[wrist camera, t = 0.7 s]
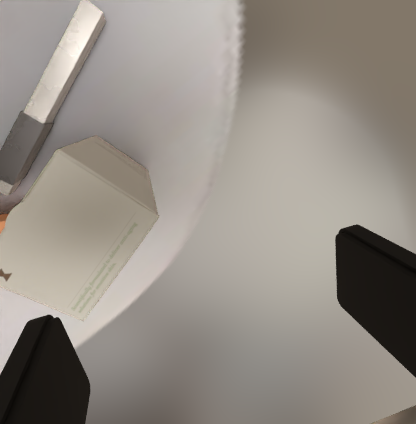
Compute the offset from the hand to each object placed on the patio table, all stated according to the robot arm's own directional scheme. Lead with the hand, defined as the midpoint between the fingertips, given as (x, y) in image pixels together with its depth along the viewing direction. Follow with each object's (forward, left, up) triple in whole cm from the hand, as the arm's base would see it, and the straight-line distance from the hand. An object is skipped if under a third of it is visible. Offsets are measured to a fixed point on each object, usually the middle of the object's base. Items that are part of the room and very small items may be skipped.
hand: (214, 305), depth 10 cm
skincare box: (+1, -6, -23) cm, 24 cm away
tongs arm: (-7, -9, -23) cm, 25 cm away
